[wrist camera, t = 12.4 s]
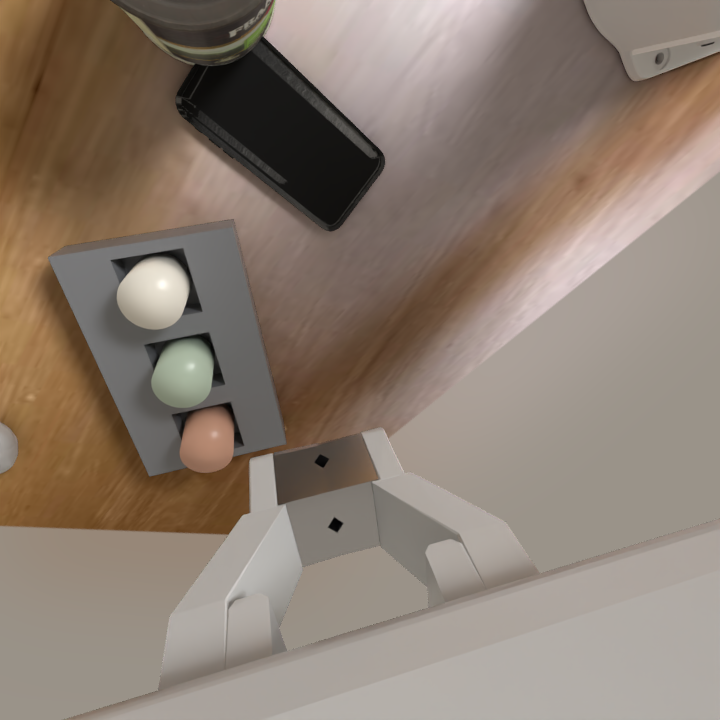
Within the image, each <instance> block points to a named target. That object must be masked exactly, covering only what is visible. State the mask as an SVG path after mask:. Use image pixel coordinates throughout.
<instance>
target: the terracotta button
mask: <svg viewBox="0 0 720 720" xmlns="http://www.w3.org/2000/svg"><path fill="white" fill-rule="evenodd" d="M234 423H235V418H234V414H233V411H232V410H231V409H230V408H229V407H228V406H227V405H226V404H224V403H222V404H218V405H213V406H209V407H204V408H200V409H195V410H190V411H189V412H188V414H187V417H186V422H185V427H184V432H183V437H182V442H181V447H180V458H181V460H182V462H183V463H184V465H185V466H187V467H188V468H189V469H191V470H193V471H196V472H201V473H210V472H215V471H218V470H221V469H222V468H224V467H225V466H227V465H228V464H229V463H230V461H231V460H232V457H233V453H234Z"/></svg>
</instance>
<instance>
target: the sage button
mask: <svg viewBox="0 0 720 720" xmlns="http://www.w3.org/2000/svg"><path fill="white" fill-rule="evenodd" d="M214 362H215V353H214V349H213V347H212V346H211V344H210V343H209V342H208V341H207V340H206V339H205V338H203V337H201V336H199V335H191V336H186V337H181V338H175V339H170V340H168V341H167V342H166V343H165V345H164V346H163V349H162V352H161V354H160V357H159V360H158V362H157V365H156V368H155V370H154V373H153V376H152V380H151V385H152V389H153V392H154V394H155V395H156V396H157V398H158V399H159V400H161V401H162V402H163V403H165V404H167V405H169V406H172V407H177V408H188V407H193V406H196V405H198V404H200V403H201V402H203V401H204V400H205V399H206V398H207V396H208V395H209V393H210V390H211V385H212V377H213V369H214Z"/></svg>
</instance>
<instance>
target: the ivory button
mask: <svg viewBox="0 0 720 720" xmlns="http://www.w3.org/2000/svg"><path fill="white" fill-rule="evenodd" d="M191 286H192V280H191V275H190V273H189V271H188V269H187V267H186V266H185V265H184V264H183V263H182V262H181V261H180V260H179V259H177V258H176V257H174V256H171V255H169V254H165V253H153V254H149V255H146V256H144V257H143V258H141V259H140V260H139V261H138V262H137V263H136V265H135V266H134V267H133V268H132V269H131V271H130V272H129V273H128V274H127V276H126V277H125V278H124V279H123V281H122V282H121V283H120V285H119V287H118V290H117V303H118V306H119V308H120V310H121V312H122V313H123V315H124V316H125V317H126V318H127V319H128V320H129V321H131V322H132V323H133V324H135V325H137V326H139V327H142V328H146V329H152V330H158V329H164V328H167V327H169V326H171V325H173V324H174V323H176V322H177V321H178V320H179V318H180V317H181V315H182V313H183V311H184V308H185V305H186V302H187V299H188V296H189V293H190V290H191Z"/></svg>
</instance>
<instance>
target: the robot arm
mask: <svg viewBox="0 0 720 720" xmlns="http://www.w3.org/2000/svg"><path fill="white" fill-rule="evenodd" d="M584 3H585V6H586V9H587V11H588V14H589V16H590V18H591V20H592V22H593V23H594V25H595V26H596V28H597V29H598V30H599V32H600V33H601V34H602V35H603V36H604V37H605V38H606V39H607V40H608V41H609V42H611V43H612V44H613V45H614V46H615V47H616V49H617V50H618V51H619V53H620V56H621V59H622V62H623V64H624V67H625V70H626V72H627V74H628V76H629V77H630V78H631V79H632V80H633V81H641V80H645V79H648V78H651V77H654V76H656V75H659V74H662V73H664V72H667V71H669V70H672V69H675V68H677V67H680V66H683V65H685V64H688V63H690V62H693V61H696V60H698V59H701V58H704V57H706V56H709V55H711V54H714V53H717V52H719V51H720V0H584ZM656 56H657V61H656V63H655V58H656ZM249 505H250V513H249V514H245V515H242V517H241V518H240V519H239V521H238V522H237V524H236V525H235V526H234V528H233V529H232V531H231V532H230V533H229V535H228V536H227V538H226V539H225V540H224V542H223V543H222V545H221V546H220V547H219V549H218V550H217V552H216V553H215V554H214V556H213V557H212V558H211V560H210V561H209V563H208V564H207V565H206V567H205V568H204V569H203V571H202V572H201V574H200V575H199V577H198V578H197V579H196V581H195V582H194V583H193V585H192V586H191V587H190V589H189V590H188V592H187V593H186V594H185V596H184V597H183V599H182V600H181V602H180V603H179V604H178V606H177V607H176V608H175V610H174V611H173V613H172V614H171V615H170V618H169V625H168V631H167V637H166V643H165V651H164V656H163V662H162V669H161V675H160V682H159V688H158V691H155V692H152V693H148V694H145V695H142V696H139V697H135V698H132V699H129V700H126V701H122V702H119V703H116V704H113V705H109V706H106V707H103V708H99V709H96V710H93V711H90V712H87V713H84V714H80V715H77V716H73V717H70V718H67V719H64V720H720V518H719V519H716V520H713V521H710V522H706V523H703V524H700V525H696V526H693V527H690V528H686V529H684V530H680V531H677V532H673V533H670V534H667V535H664V536H660V537H657V538H654V539H651V540H647V541H644V542H641V543H638V544H634V545H631V546H628V547H624V548H621V549H618V550H615V551H611V552H608V553H605V554H602V555H598V556H595V557H592V558H589V559H585V560H582V561H579V562H576V563H572V564H569V565H566V566H562V567H559V568H556V569H553V570H549V571H546V572H543V573H539V571H538V570H537V568H536V567H535V565H534V564H533V562H532V561H531V559H530V558H529V556H528V555H527V554H526V552H525V550H524V549H523V547H522V546H521V544H520V543H519V541H518V540H517V539H516V537H515V535H514V534H513V532H512V531H511V529H510V528H509V526H508V525H507V523H506V522H505V521H503V520H501V519H499V518H497V517H495V516H494V515H492V514H490V513H488V512H486V511H484V510H482V509H480V508H478V507H476V506H475V505H473V504H471V503H469V502H467V501H465V500H463V499H462V498H460V497H458V496H456V495H454V494H452V493H450V492H448V491H446V490H445V489H443V488H441V487H438V486H437V485H435V484H433V483H431V482H429V481H427V480H426V479H424V478H422V477H420V476H418V475H416V474H414V473H412V472H408V473H404V471H403V469H402V467H401V464H400V462H399V460H398V458H397V456H396V454H395V452H394V450H393V448H392V445H391V443H390V441H389V439H388V437H387V435H386V433H385V431H384V429H383V428H382V427H379V428H375V429H371V430H367V431H364V432H360V433H359V434H355V435H350V436H346V437H342V438H338V439H334V440H330V441H326V442H322V443H317V444H312V445H307V446H303V447H298V448H293V449H289V450H284V451H280V452H275V453H274V454H272V453H271V454H267V455H263V456H258V457H254V458H251V459H250V461H249ZM380 545H381V548H383V549H384V550H385V551H386V552H387V553H388V554H390V555H391V556H392V557H393V558H394V559H395V560H396V561H398V562H399V563H400V564H401V565H402V566H403V567H405V568H406V569H407V570H408V571H409V572H410V573H411V574H413V575H414V576H415V577H416V578H417V579H418V580H419V581H421V582H422V583H423V584H424V585H425V586H426V587H427V591H428V608H426V609H422V610H419V611H416V612H413V613H409V614H406V615H403V616H400V617H396V618H393V619H390V620H387V621H383V622H380V623H377V624H373V625H370V626H367V627H364V628H360V629H357V630H354V631H351V632H347V633H344V634H341V635H338V636H334V637H331V638H328V639H324V640H321V641H318V642H315V643H311V644H308V645H305V646H302V647H298V648H295V649H292V650H289V651H287V649H286V646H285V644H284V641H283V638H282V635H281V632H280V629H279V627H280V625H281V622H282V620H283V617H284V615H285V613H286V610H287V608H288V605H289V603H290V600H291V598H292V596H293V593H294V590H295V588H296V586H297V583H298V581H299V578H300V576H301V573H302V571H303V568H302V567H305V566H308V565H311V564H314V563H318V562H321V561H324V560H328V559H331V558H334V557H337V556H340V555H344V554H348V553H352V552H356V551H360V550H364V549H368V548H372V547H376V546H380ZM341 553H342V554H341Z"/></svg>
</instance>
